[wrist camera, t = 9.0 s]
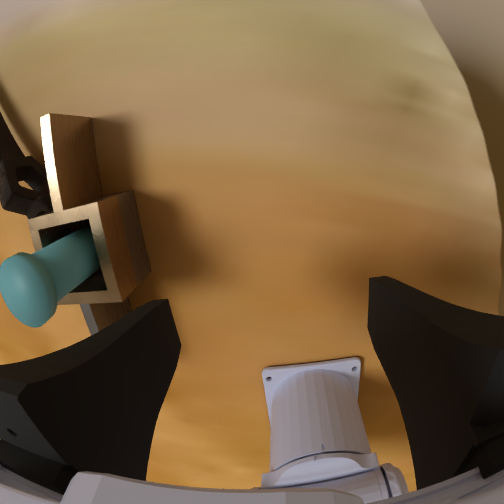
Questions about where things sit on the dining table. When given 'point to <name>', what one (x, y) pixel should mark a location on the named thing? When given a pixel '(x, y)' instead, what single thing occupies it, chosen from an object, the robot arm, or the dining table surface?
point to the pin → (47, 276)
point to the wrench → (21, 179)
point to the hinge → (101, 221)
